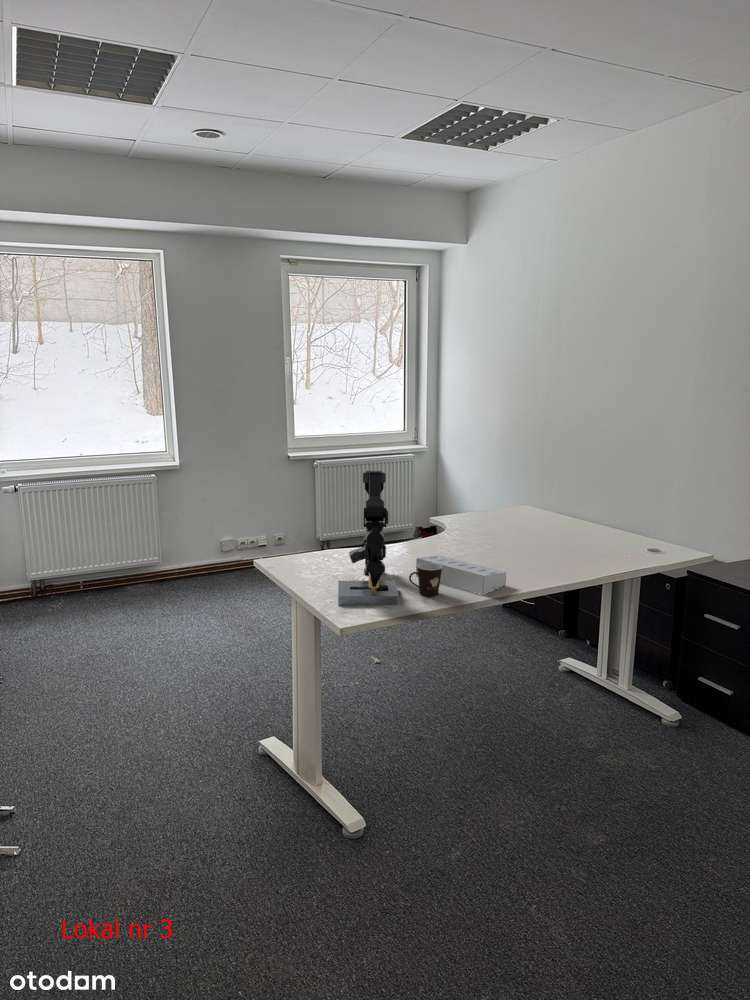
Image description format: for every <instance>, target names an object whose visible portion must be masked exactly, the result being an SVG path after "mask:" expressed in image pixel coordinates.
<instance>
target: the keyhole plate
mask: <svg viewBox="0 0 750 1000" xmlns="http://www.w3.org/2000/svg"><path fill="white" fill-rule="evenodd" d="M337 587H338V590H337V591H338V592H337V593H338V594H337V595H338V596H337V598H338V599H337V606H399V602H400V601H399V599H400V597H399V596H400V595H399V592H398V588H397V583H396V580H379V588H376V591H371V588H369V580H338V585H337Z"/></svg>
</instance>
